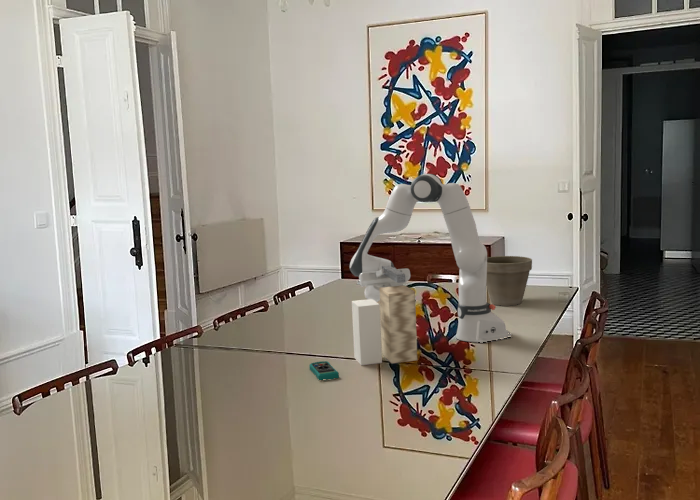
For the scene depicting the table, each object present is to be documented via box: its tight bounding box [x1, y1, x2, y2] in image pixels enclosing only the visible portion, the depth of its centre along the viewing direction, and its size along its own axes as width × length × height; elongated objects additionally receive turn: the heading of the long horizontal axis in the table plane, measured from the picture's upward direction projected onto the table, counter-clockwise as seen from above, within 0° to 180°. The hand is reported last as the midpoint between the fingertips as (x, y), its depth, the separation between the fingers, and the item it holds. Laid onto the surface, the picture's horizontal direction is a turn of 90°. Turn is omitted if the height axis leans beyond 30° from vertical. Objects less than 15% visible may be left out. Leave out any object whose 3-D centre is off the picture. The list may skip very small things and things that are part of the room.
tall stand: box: [379, 284, 418, 364], centre depth 261 cm, size 10×12×26 cm
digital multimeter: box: [309, 360, 340, 381], centre depth 248 cm, size 7×15×3 cm, turn 17°
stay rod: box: [382, 265, 405, 283], centre depth 262 cm, size 3×20×3 cm, turn 13°
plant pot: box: [486, 255, 533, 307], centre depth 340 cm, size 25×25×22 cm
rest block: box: [351, 298, 383, 366], centre depth 259 cm, size 8×10×22 cm
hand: (388, 270), depth 267 cm, fingers closed on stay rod, 3 cm apart
